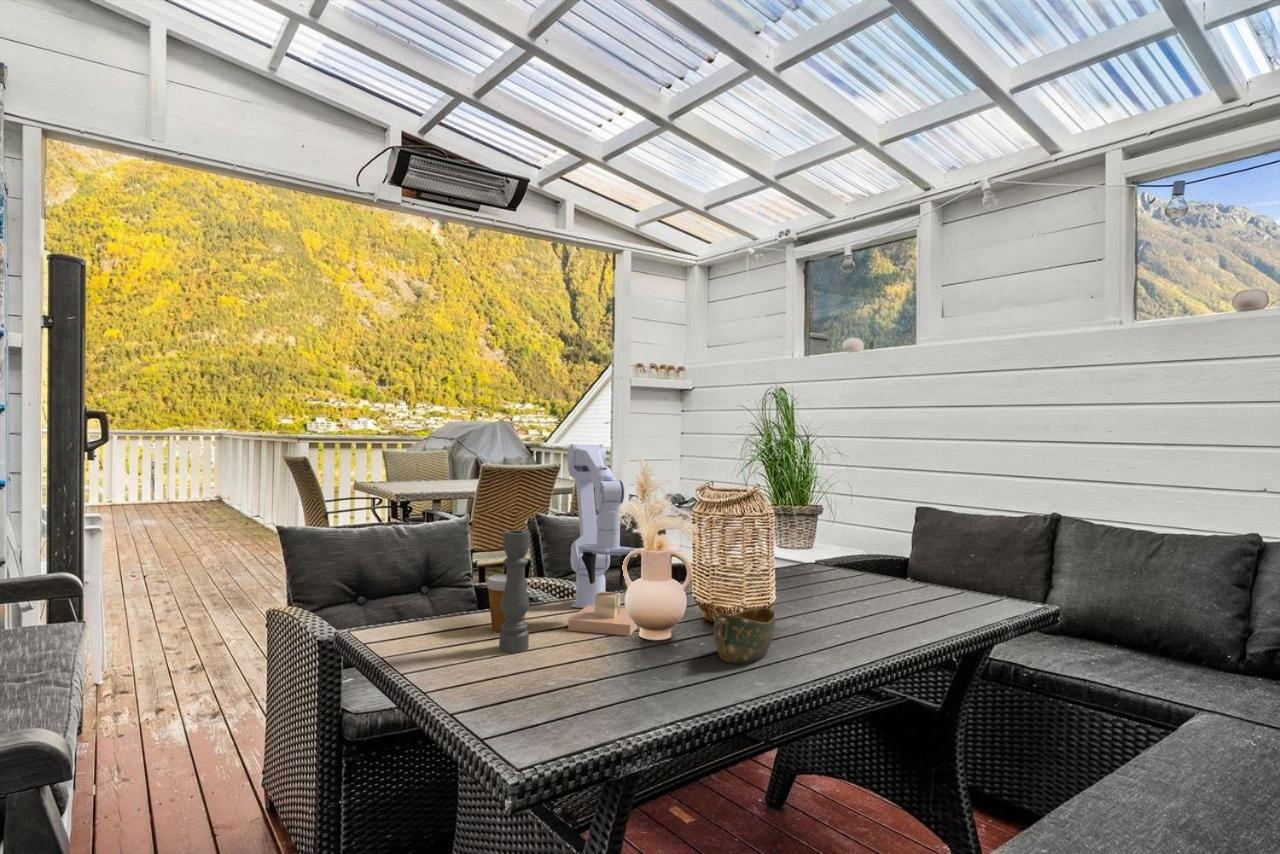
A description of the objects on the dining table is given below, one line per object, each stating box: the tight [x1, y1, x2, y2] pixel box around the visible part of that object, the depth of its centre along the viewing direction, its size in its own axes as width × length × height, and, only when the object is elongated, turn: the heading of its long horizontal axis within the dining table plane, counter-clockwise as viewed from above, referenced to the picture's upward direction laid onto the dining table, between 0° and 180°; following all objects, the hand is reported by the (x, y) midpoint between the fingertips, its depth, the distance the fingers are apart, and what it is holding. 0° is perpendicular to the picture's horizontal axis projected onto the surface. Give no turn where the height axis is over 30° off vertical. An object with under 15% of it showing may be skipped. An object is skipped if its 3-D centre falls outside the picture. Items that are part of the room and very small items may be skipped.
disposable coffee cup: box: [485, 573, 528, 633], centre depth 172 cm, size 10×10×12 cm
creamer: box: [713, 607, 776, 665], centre depth 156 cm, size 13×20×10 cm, turn 116°
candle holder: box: [498, 529, 531, 654], centre depth 157 cm, size 6×6×25 cm
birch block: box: [595, 591, 621, 618], centre depth 178 cm, size 5×5×5 cm
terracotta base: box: [567, 605, 638, 637], centre depth 178 cm, size 15×15×2 cm
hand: (607, 584), depth 181 cm, fingers open, 7 cm apart
